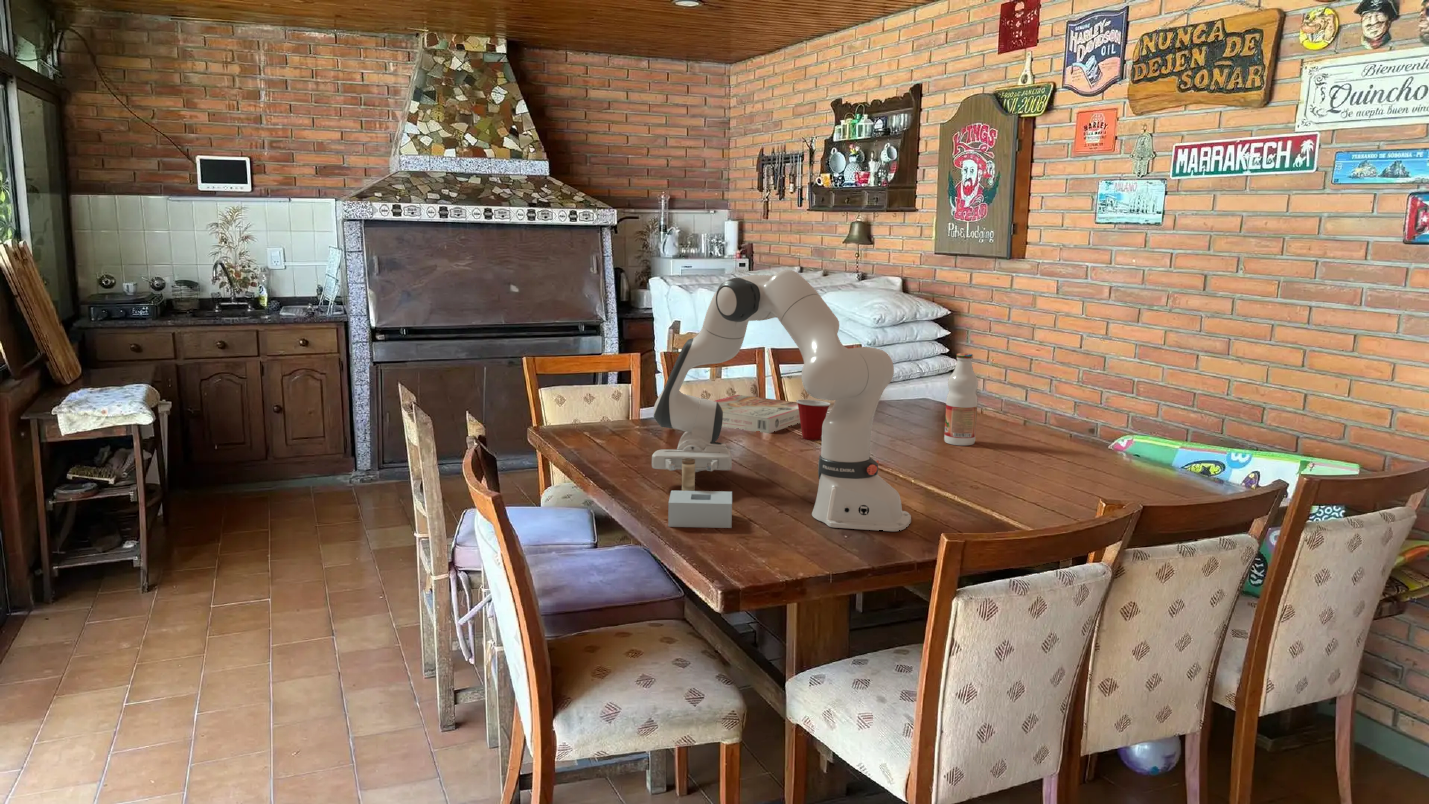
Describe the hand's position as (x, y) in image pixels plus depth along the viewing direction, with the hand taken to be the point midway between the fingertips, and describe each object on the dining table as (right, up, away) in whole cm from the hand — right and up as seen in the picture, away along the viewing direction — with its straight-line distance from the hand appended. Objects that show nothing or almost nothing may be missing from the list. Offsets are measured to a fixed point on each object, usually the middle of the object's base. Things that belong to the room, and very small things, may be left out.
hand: (690, 467), depth 237 cm
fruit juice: (+83, +3, +65) cm, 105 cm away
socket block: (+3, -11, -19) cm, 22 cm away
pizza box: (+19, +9, +96) cm, 99 cm away
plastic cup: (+37, +5, +68) cm, 78 cm away
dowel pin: (0, -9, -10) cm, 14 cm away
